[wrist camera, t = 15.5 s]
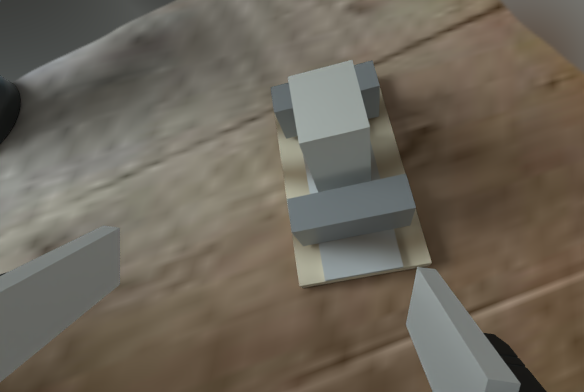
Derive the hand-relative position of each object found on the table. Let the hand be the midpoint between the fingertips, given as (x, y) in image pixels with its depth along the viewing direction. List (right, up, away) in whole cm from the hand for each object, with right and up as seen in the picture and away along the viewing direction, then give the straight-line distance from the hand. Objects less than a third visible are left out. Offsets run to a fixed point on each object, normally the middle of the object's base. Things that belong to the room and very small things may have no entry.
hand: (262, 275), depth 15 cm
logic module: (+6, +6, +20) cm, 22 cm away
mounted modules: (+6, +7, +20) cm, 22 cm away
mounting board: (+7, +6, +22) cm, 24 cm away
